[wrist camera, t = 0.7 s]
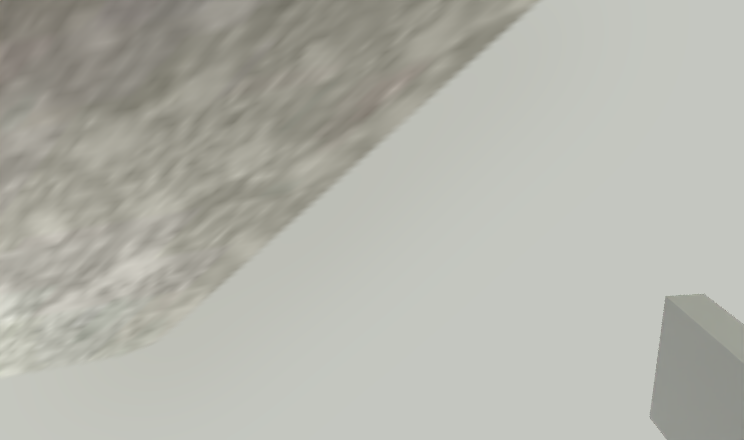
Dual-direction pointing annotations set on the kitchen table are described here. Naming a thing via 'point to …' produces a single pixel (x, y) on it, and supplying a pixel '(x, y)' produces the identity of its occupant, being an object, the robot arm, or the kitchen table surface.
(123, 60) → the kitchen table surface
